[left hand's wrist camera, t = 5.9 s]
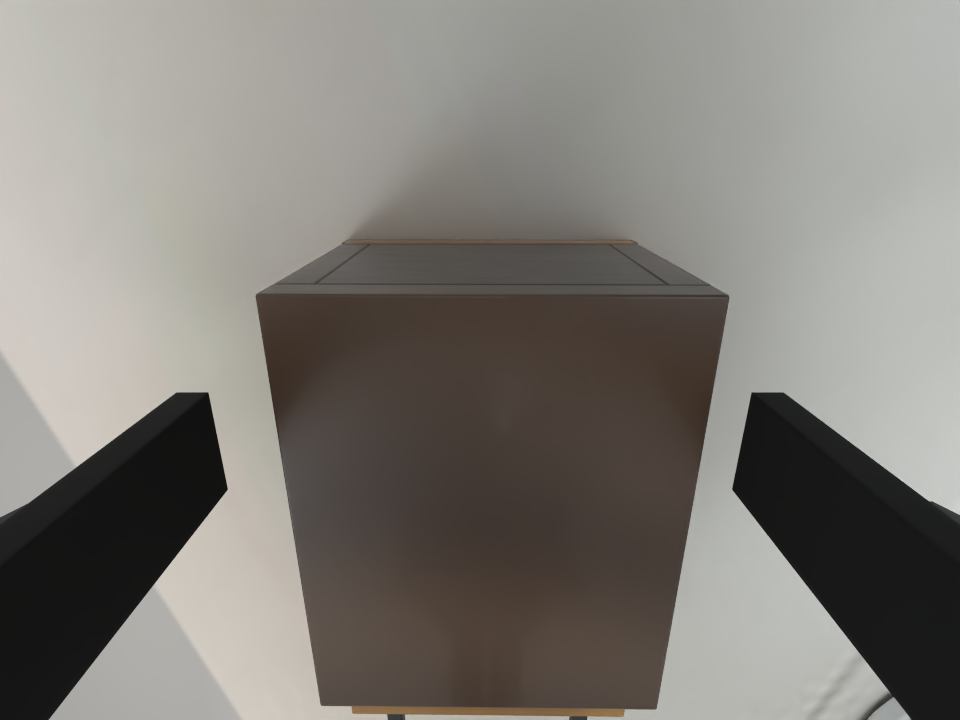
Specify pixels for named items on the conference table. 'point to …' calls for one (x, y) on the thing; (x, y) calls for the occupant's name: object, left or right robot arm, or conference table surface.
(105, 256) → the conference table surface
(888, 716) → the right robot arm
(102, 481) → the left robot arm
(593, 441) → the cabinet
